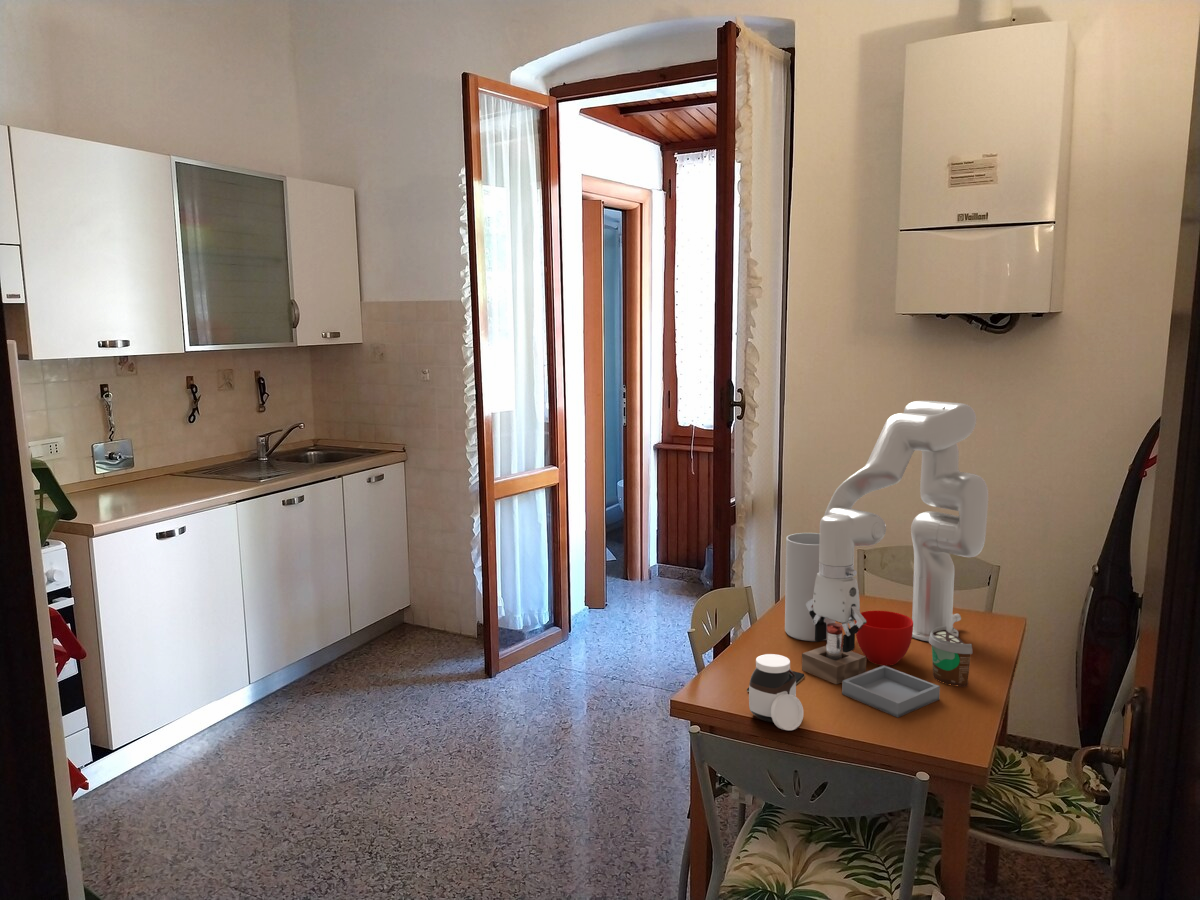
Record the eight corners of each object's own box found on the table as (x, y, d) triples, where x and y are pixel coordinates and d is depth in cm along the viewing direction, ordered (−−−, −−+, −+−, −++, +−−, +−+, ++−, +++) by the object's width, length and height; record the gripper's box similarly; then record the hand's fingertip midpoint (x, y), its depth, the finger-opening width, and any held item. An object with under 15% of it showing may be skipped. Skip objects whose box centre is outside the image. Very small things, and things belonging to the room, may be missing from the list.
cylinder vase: (784, 640, 215) (785, 543, 212) (785, 623, 227) (786, 531, 224) (835, 644, 212) (837, 545, 209) (834, 626, 224) (836, 533, 221)
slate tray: (883, 678, 191) (883, 665, 191) (939, 699, 180) (939, 686, 180) (842, 694, 183) (842, 680, 183) (897, 717, 172) (898, 703, 172)
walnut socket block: (831, 659, 202) (831, 643, 202) (865, 673, 194) (866, 656, 193) (801, 670, 197) (802, 653, 196) (836, 684, 188) (836, 667, 188)
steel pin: (832, 667, 198) (833, 621, 196) (844, 672, 195) (845, 626, 193) (822, 671, 196) (823, 625, 194) (834, 676, 193) (835, 629, 191)
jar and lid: (767, 701, 181) (768, 648, 179) (817, 716, 173) (818, 661, 172) (738, 721, 172) (738, 666, 170) (789, 738, 164) (790, 680, 163)
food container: (917, 668, 197) (919, 626, 195) (943, 666, 197) (945, 625, 196) (943, 690, 184) (945, 646, 183) (970, 689, 185) (972, 644, 183)
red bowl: (929, 655, 204) (930, 614, 203) (895, 675, 193) (897, 633, 191) (878, 641, 213) (879, 603, 212) (843, 660, 202) (844, 619, 200)
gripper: (879, 576, 187) (876, 653, 189) (817, 559, 201) (815, 631, 204) (856, 582, 183) (854, 661, 185) (795, 564, 197) (793, 638, 199)
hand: (834, 645), depth 194 cm, fingers open, 7 cm apart
